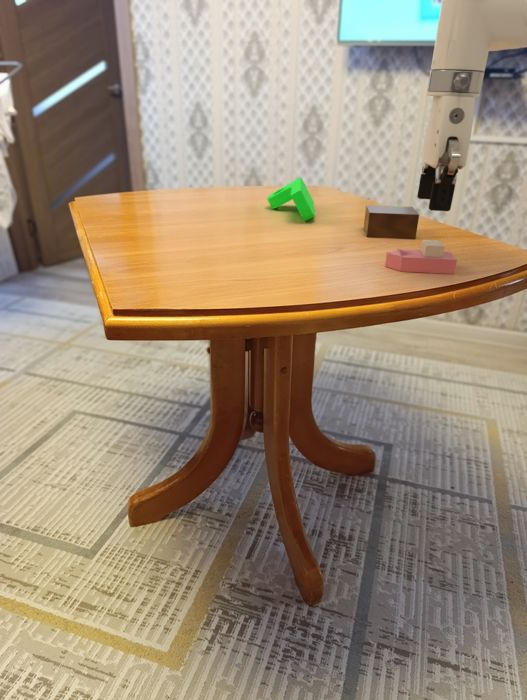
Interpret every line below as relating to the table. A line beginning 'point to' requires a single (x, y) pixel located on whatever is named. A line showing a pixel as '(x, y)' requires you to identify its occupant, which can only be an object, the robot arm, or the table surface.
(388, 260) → the boat
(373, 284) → the table surface
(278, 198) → the bracket
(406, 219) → the block
